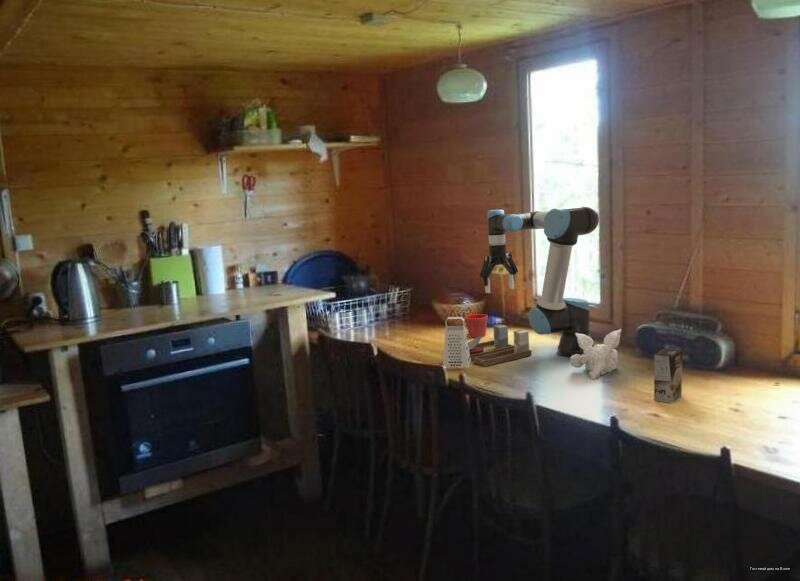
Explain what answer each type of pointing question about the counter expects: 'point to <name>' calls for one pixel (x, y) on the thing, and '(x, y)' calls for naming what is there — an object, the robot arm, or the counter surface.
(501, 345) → the lane
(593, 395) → the counter surface
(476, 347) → the canned food
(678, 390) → the coffee box
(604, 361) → the white sculpted figure
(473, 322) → the flower pot
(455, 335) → the grater
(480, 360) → the lane
